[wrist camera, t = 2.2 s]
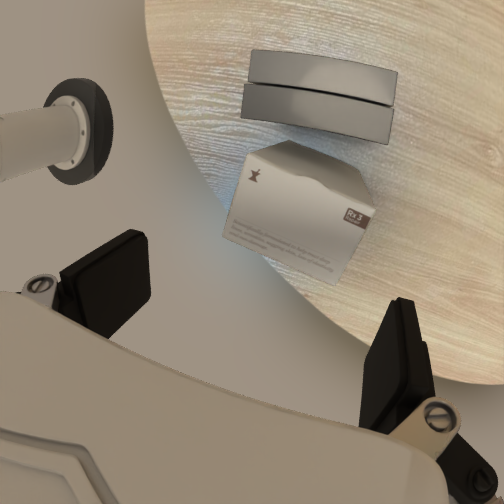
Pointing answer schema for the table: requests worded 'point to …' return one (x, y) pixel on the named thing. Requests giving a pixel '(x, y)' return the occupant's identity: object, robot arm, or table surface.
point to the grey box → (320, 94)
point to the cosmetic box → (300, 209)
